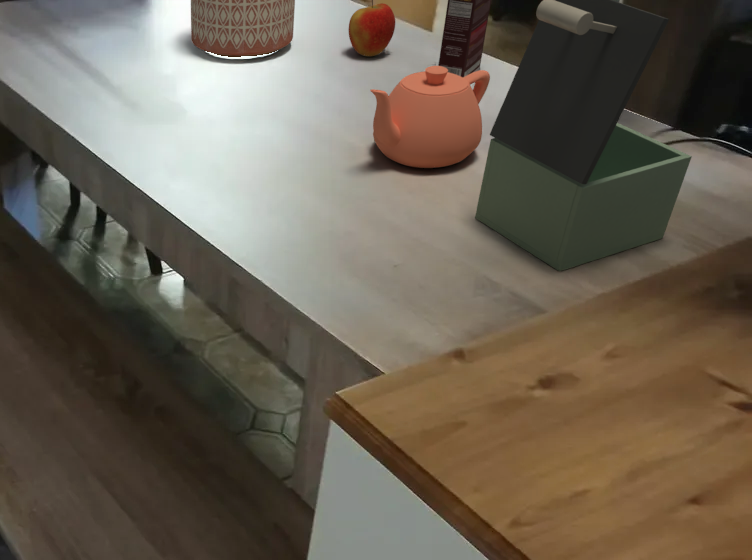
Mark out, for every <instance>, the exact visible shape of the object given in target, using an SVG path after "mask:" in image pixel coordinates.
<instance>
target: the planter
mask: <svg viewBox="0 0 752 560" xmlns="http://www.w3.org/2000/svg"><path fill="white" fill-rule="evenodd" d="M295 6H296V0H190V33H191V34H190V36H191V37H190V41H191V43H192V44H193V46H195V47H196V48H198V49H199V50H202V51H203V50H204V51H207V52H211V53H214V54H217V55H221V56H228V57H241V56H257V55H263V54H269V53H272V52H275V51H277V50H279V49H280V50H281V49H283V48H285V47H287V46H288V45H290V44H291V42H293V39H294V25H295V8H296V7H295ZM280 50H279V51H280ZM204 51H203V52H204Z"/></svg>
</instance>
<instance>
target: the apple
mask: <svg viewBox="0 0 752 560" xmlns="http://www.w3.org/2000/svg"><path fill="white" fill-rule="evenodd" d="M395 30H396V17H395V14H394V12H393V10H392V7H390V6H389V5H388V4H387V3H383V2H382V3H376V4H374V0H371V6H366V7H363V8H358V9H357V10H356V11H354V13H352V15H351V16H350V19H349V23H348V37H349V38H348V39H349V41H350V44H351V46H352V48H353V49H354V51H355V52H356V53H357V54H358V55H361V56H363V57H375V56H377V55H380V54H381V53H383V52H384V50H386V48H387V47H388V45H389V44H390V42H391V41H392V39H393V36H394V33H395Z"/></svg>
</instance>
